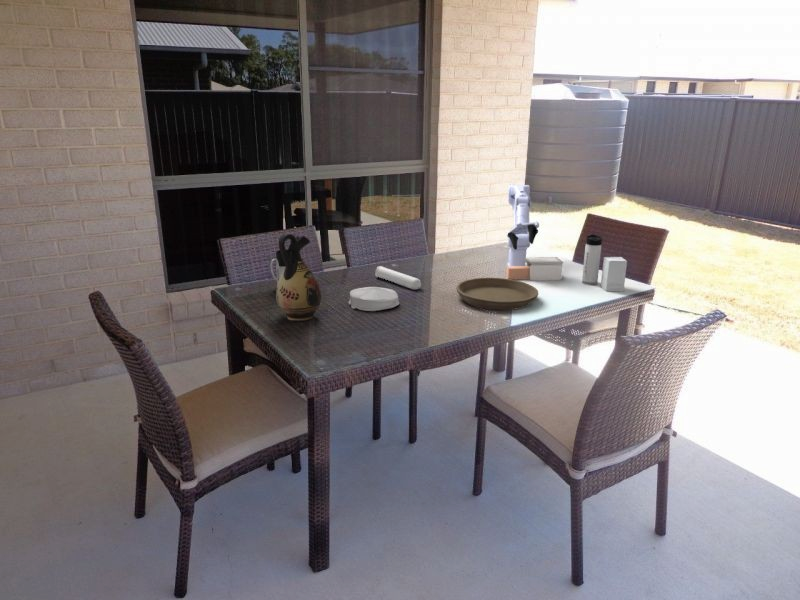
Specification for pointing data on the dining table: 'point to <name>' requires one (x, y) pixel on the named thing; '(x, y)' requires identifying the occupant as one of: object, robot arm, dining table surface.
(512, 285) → the plant saucer
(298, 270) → the ceramic jug
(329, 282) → the dining table surface
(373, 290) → the food container
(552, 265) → the dispenser
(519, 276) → the orange long block
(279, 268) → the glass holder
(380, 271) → the tube
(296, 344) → the dining table surface
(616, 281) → the supplement box
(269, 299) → the dining table surface
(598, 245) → the travel mug
